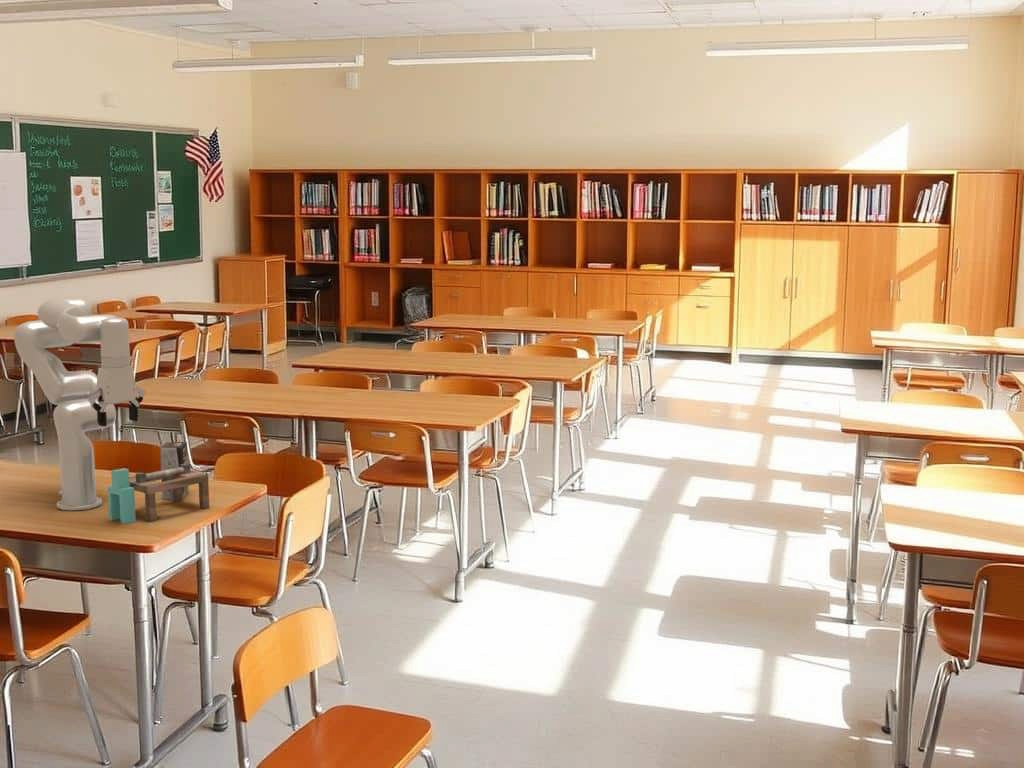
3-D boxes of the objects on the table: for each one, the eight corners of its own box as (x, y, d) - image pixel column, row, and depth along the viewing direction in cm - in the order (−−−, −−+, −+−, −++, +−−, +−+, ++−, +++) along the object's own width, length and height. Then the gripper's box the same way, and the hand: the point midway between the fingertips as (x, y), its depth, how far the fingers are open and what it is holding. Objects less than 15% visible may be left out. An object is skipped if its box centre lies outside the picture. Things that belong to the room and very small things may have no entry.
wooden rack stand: (120, 512, 329) (118, 471, 327) (178, 499, 345) (177, 459, 343) (150, 521, 320) (148, 479, 318) (209, 507, 335) (207, 466, 334)
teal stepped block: (109, 519, 322) (106, 469, 320) (122, 516, 325) (119, 467, 323) (123, 523, 318) (120, 473, 316) (135, 520, 321) (133, 470, 319)
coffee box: (183, 499, 345) (181, 447, 342) (161, 499, 344) (159, 447, 342) (189, 492, 354) (187, 441, 351) (168, 492, 353) (166, 441, 351)
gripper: (135, 357, 323) (137, 417, 326) (79, 364, 310) (82, 425, 313) (150, 360, 319) (153, 420, 322) (94, 367, 305) (97, 429, 308)
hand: (118, 423), depth 317 cm, fingers open, 9 cm apart
